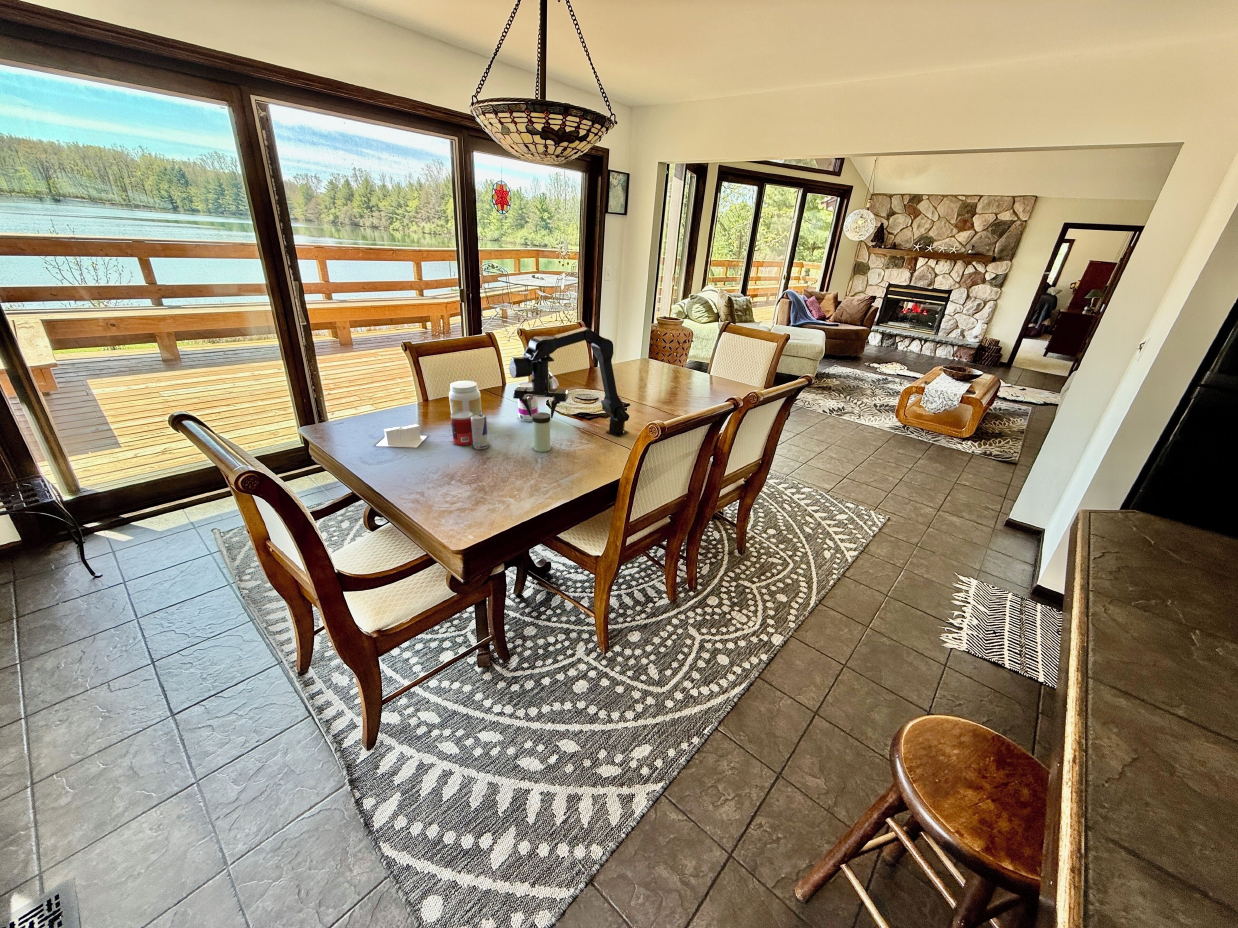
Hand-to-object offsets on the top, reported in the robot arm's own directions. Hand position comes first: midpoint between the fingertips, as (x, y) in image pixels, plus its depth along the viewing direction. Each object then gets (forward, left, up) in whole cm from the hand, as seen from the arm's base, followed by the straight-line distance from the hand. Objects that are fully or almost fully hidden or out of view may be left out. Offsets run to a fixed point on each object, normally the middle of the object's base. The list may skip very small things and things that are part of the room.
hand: (541, 417), depth 173 cm
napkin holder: (+29, -44, -13) cm, 54 cm away
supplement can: (-19, -26, -13) cm, 35 cm away
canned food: (+15, -26, -13) cm, 32 cm away
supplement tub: (+2, -40, -13) cm, 42 cm away
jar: (0, 0, -12) cm, 12 cm away
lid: (0, 0, 0) cm, 0 cm away
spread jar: (-55, -49, -13) cm, 75 cm away
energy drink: (+14, -18, -13) cm, 26 cm away
